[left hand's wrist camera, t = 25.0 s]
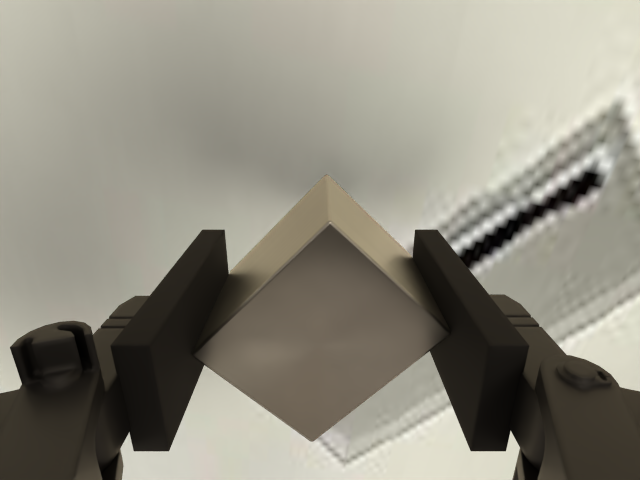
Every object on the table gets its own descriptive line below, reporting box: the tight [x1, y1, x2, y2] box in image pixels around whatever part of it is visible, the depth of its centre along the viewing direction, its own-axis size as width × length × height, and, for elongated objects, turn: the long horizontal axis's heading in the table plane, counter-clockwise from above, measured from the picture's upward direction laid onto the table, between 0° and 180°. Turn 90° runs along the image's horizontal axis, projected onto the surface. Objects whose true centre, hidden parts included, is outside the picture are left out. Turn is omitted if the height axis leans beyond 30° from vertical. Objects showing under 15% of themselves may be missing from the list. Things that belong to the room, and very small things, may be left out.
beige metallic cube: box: [192, 175, 451, 442], centre depth 12 cm, size 5×4×5 cm
